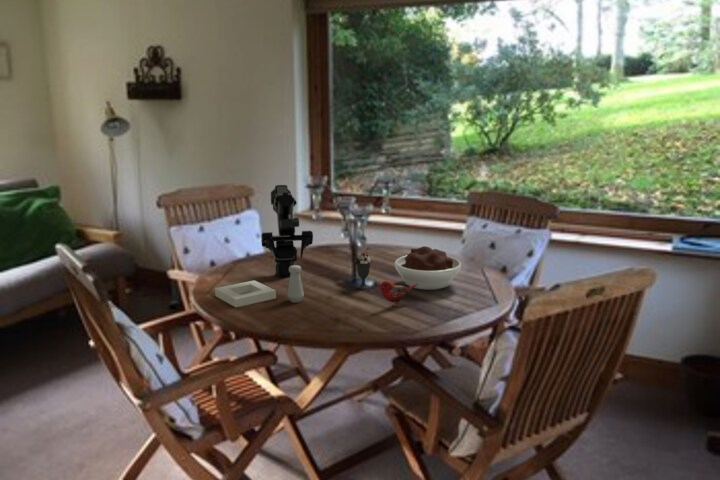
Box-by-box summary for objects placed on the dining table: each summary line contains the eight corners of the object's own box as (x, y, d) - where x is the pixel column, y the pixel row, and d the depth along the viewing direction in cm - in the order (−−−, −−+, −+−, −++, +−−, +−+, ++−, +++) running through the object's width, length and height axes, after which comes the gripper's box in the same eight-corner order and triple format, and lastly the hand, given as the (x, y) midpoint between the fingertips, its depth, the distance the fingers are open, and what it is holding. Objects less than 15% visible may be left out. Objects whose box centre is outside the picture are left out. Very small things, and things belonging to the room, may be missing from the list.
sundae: (374, 285, 248) (374, 247, 245) (368, 290, 242) (368, 251, 239) (358, 283, 250) (358, 246, 247) (352, 288, 244) (352, 250, 241)
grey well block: (254, 287, 246) (254, 280, 245) (276, 298, 233) (275, 290, 233) (215, 296, 236) (215, 288, 236) (235, 307, 224) (235, 299, 223)
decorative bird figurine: (376, 309, 222) (376, 281, 220) (415, 299, 232) (415, 272, 230) (382, 311, 220) (382, 283, 217) (420, 301, 230) (421, 274, 228)
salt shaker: (301, 304, 227) (300, 268, 224) (285, 303, 228) (284, 267, 225) (305, 298, 233) (305, 264, 230) (290, 297, 234) (289, 263, 231)
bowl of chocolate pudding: (473, 285, 248) (474, 247, 244) (433, 301, 230) (435, 260, 227) (421, 273, 265) (422, 237, 261) (381, 286, 247) (381, 248, 243)
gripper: (260, 210, 235) (262, 246, 226) (311, 209, 238) (315, 244, 229) (260, 228, 244) (262, 263, 235) (310, 226, 247) (314, 261, 238)
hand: (288, 257), depth 234 cm, fingers open, 9 cm apart
